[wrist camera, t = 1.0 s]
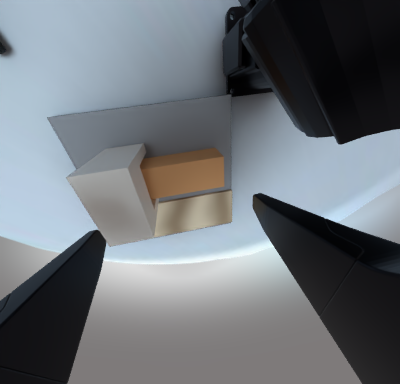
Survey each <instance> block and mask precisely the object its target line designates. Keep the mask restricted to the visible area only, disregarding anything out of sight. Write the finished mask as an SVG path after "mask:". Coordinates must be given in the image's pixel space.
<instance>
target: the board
mask: <svg viewBox="0 0 400 384" xmlns="http://www.w3.org/2000/svg"><path fill="white" fill-rule="evenodd" d="M47 119H48V120H49V122H50V124H51V126H52V127H53V129H54V131H55V133H56V134H57V136H58V138H59V140H60V141H61V143H62V145H63V147H64V148H65V150H66V152H67V154H68V155H69V157H70V159H71V161H72V162H73V164H74V166H75V168H76V169H78V168H80V167H81V166H83V165H84V164H85V163H87V162H88V161H90V160H91V159H92V158H94V157H95V156H96V155H98V154H99V153H101V152H102V151H103V150H105V149H107V148H114V147H121V146H128V145H134V144H141V143H144V146H145V149H146V154H145V156H144V158H143V159H145V158H152V157H158V156H165V155H171V154H177V153H184V152H190V151H197V150H203V149H210V148H216V149H217V150H218V151H219V152H220V153H221V154H222V155H223V156H224V187H219V188H213V189H207V190H202V191H196V192H190V193H185V194H179V195H173V196H168V197H162V198H159V202H162V201H168V200H173V199H179V198H184V197H190V196H196V195H201V194H207V193H212V192H218V191H224V190H229V189H231V94H230V95H222V96H214V97H206V98H198V99H190V100H182V101H174V102H166V103H158V104H150V105H142V106H134V107H126V108H118V109H111V110H103V111H95V112H87V113H79V114H71V115H63V116H55V117H47ZM230 223H231V222H230ZM225 224H227V223H225ZM220 225H222V224H220ZM215 226H217V225H215ZM210 227H212V226H210ZM205 228H207V227H205ZM200 229H202V228H200ZM195 230H197V229H195ZM189 231H192V230H189ZM184 232H187V231H184ZM179 233H182V232H179ZM174 234H177V233H174ZM169 235H172V234H169ZM164 236H167V235H164ZM159 237H161V236H159ZM154 238H156V237H154Z"/></svg>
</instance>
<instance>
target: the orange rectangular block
mask: <svg viewBox="0 0 400 384" xmlns="http://www.w3.org/2000/svg"><path fill="white" fill-rule="evenodd" d="M140 169H141V172H142V175H143V178H144V181H145V184H146V187H147V189H148V192H149V195H150V198H151V199H156V198H162V197H168V196H173V195H179V194H185V193H190V192H196V191H202V190H207V189H213V188H219V187H224V156H223V155H222V154H221V153H220V152H219V151H218V150H217V149H216V148H210V149H203V150H197V151H190V152H184V153H177V154H171V155H165V156H158V157H152V158H145V159H143V160H142V162H141V164H140Z"/></svg>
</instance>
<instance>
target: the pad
mask: <svg viewBox="0 0 400 384" xmlns="http://www.w3.org/2000/svg"><path fill="white" fill-rule="evenodd" d="M230 222H232V190H231V189H229V190H224V191H218V192H212V193H207V194H201V195H196V196H190V197H184V198H179V199H173V200H168V201H162V202H159V203H158V211H157V219H156V227H155V235H154V237H159V236H164V235H169V234H174V233H179V232H184V231H189V230H195V229H200V228H205V227H210V226H215V225H220V224H225V223H230Z"/></svg>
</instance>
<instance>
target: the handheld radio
mask: <svg viewBox="0 0 400 384" xmlns="http://www.w3.org/2000/svg"><path fill="white" fill-rule="evenodd" d="M4 52H6V49H5V47H4V46H3V45H2V43H1V42H0V54H2V53H4Z"/></svg>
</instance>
